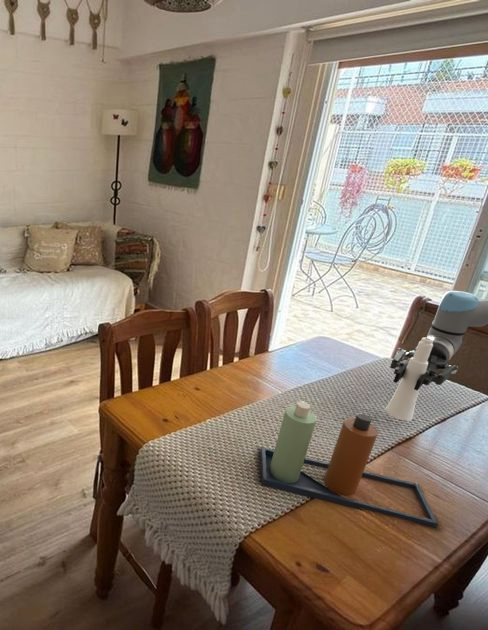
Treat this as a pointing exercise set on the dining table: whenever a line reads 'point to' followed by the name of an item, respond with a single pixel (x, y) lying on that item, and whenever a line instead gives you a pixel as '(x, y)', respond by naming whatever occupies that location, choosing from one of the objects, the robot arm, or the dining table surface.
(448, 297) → the robot arm
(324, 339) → the dining table surface
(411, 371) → the cosmetic bottle
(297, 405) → the sage bottle
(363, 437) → the amber bottle
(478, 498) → the dining table surface
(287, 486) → the tray
